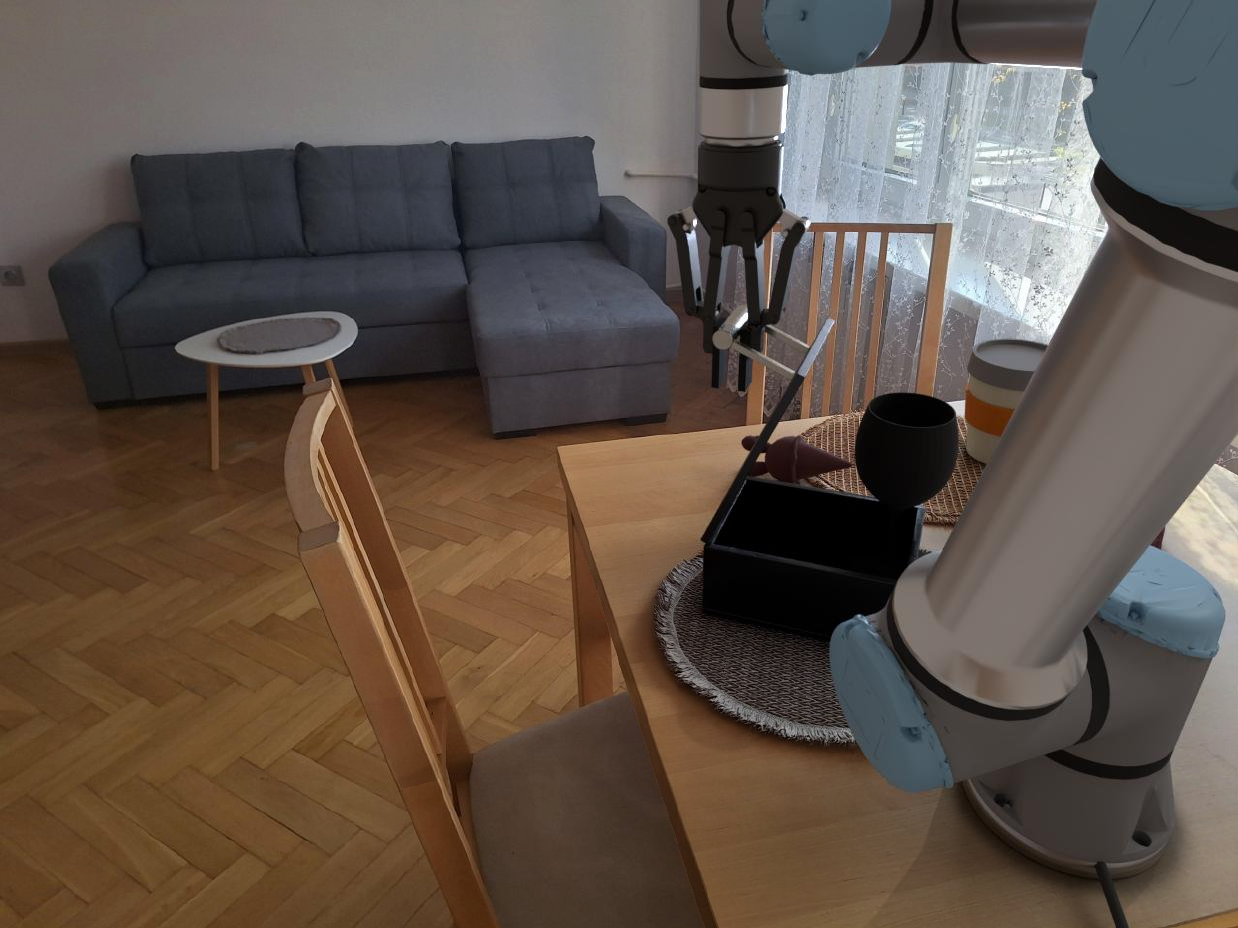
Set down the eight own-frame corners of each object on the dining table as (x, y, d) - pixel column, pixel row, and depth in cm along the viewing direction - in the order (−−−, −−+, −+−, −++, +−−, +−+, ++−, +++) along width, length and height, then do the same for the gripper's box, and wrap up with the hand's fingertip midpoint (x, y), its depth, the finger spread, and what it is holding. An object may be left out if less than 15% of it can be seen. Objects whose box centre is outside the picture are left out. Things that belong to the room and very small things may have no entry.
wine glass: (835, 584, 93) (854, 424, 83) (846, 534, 101) (864, 384, 92) (933, 602, 90) (965, 437, 80) (936, 549, 98) (965, 394, 88)
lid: (835, 320, 85) (754, 278, 86) (805, 377, 73) (711, 327, 74) (745, 473, 98) (676, 434, 99) (706, 544, 85) (628, 499, 86)
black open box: (914, 570, 95) (926, 505, 91) (900, 658, 82) (912, 587, 78) (739, 537, 102) (742, 475, 98) (701, 613, 90) (703, 546, 85)
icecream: (857, 433, 111) (748, 426, 117) (849, 444, 105) (734, 436, 111) (854, 483, 113) (747, 473, 119) (846, 497, 106) (733, 486, 112)
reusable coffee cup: (937, 436, 124) (954, 341, 116) (1018, 429, 125) (1039, 335, 117) (978, 477, 113) (999, 375, 105) (1066, 470, 114) (1093, 368, 106)
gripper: (835, 134, 73) (813, 379, 85) (673, 131, 79) (673, 362, 90) (819, 147, 67) (797, 410, 79) (645, 143, 73) (649, 389, 84)
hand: (731, 384), depth 84 cm, fingers closed on lid, 2 cm apart
